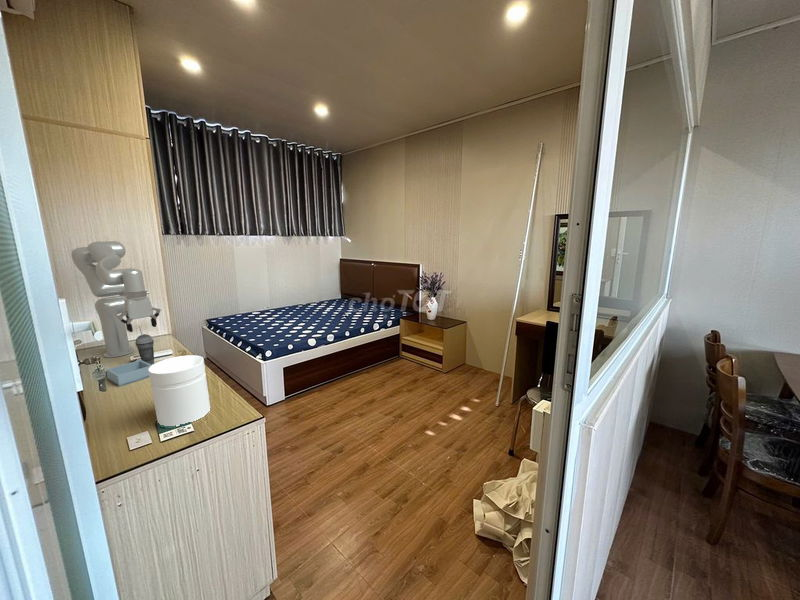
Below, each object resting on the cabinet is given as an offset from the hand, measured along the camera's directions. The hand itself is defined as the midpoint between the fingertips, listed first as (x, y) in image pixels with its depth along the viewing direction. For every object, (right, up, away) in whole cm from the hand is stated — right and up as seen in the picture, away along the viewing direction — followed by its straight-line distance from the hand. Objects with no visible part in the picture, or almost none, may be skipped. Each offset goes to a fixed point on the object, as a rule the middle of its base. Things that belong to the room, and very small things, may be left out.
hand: (142, 329), depth 157 cm
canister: (+49, -28, -42) cm, 70 cm away
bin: (+4, -21, -11) cm, 24 cm away
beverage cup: (0, -18, +4) cm, 19 cm away
